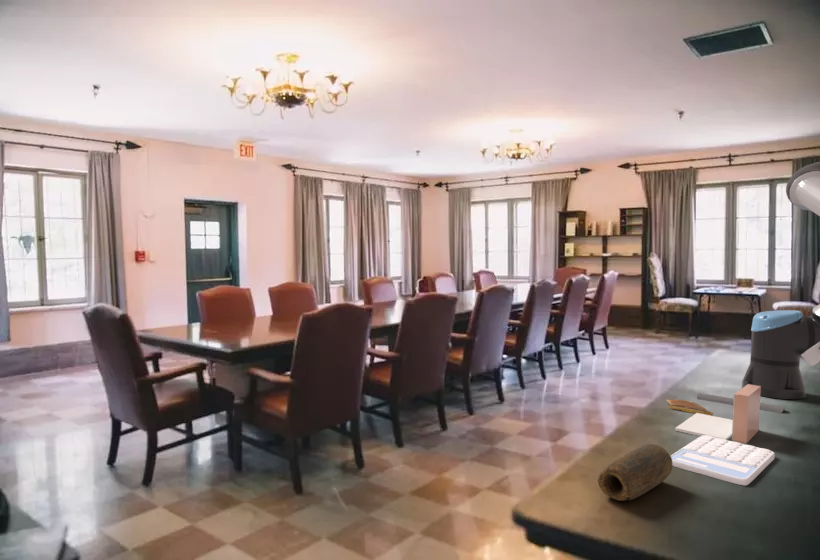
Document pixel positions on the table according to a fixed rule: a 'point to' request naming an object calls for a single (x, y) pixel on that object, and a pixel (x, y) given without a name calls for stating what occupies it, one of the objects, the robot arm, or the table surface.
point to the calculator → (723, 459)
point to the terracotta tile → (746, 413)
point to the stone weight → (635, 472)
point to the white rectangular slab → (707, 426)
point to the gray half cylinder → (730, 401)
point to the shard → (688, 407)
